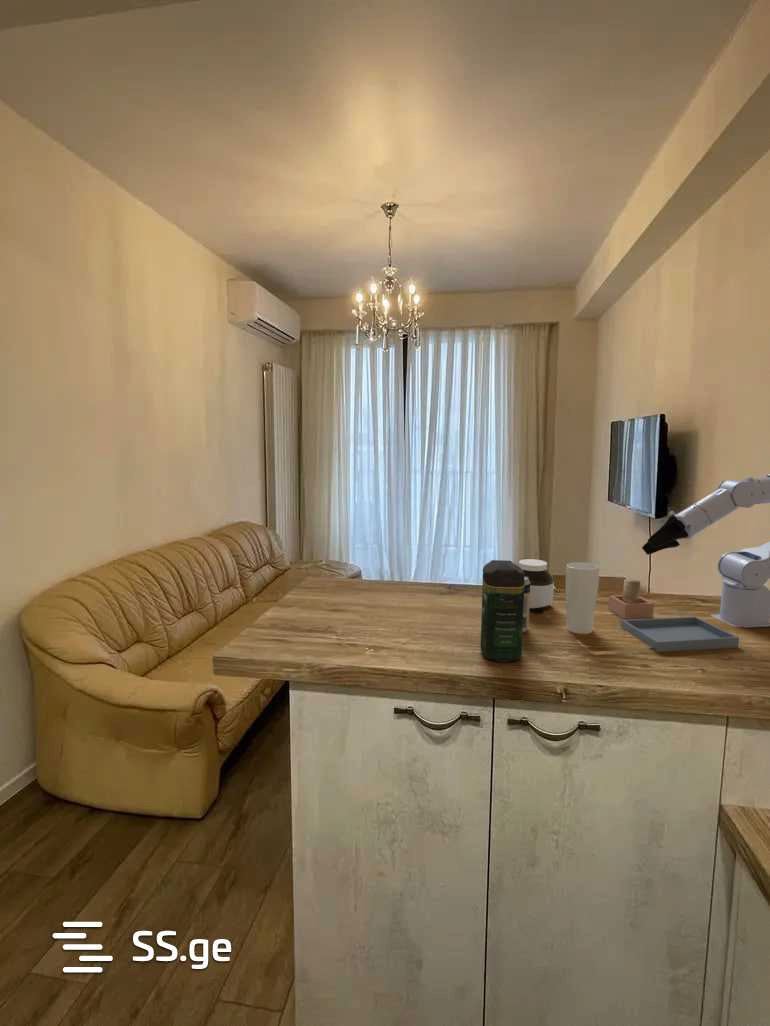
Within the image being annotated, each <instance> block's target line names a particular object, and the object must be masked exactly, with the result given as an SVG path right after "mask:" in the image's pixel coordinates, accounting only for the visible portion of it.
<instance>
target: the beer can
mask: <svg viewBox="0 0 770 1026" xmlns="http://www.w3.org/2000/svg"><path fill="white" fill-rule="evenodd" d="M524 577H525V587H524V609H523V630H522V634H523V633H526V632H527V631H529V629H530V627H529V625H530V612H529V607H530V581H529V579H528V577H526V576H524Z"/></svg>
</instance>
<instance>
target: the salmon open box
mask: <svg viewBox="0 0 770 1026" xmlns="http://www.w3.org/2000/svg"><path fill="white" fill-rule="evenodd" d="M654 604H655V603H654V602H652V601H650V600H648V599H646V598H644V597H642V596H640V595H639V603H628V604H626V603H625V602H623V594H619V595H618V594H616V595H614V594H612V595H608V607H607V610H608V611H610V612H611V613H613V614H615V615H616V616H619V617H620V618H621V619H622V620H631V619H651V618H653V617H654V606H655V605H654Z"/></svg>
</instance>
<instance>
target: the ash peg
mask: <svg viewBox="0 0 770 1026" xmlns="http://www.w3.org/2000/svg"><path fill="white" fill-rule="evenodd" d="M640 589H641V580H639V579H635V578H625V579H624V581H623V593H622V595H623V602H625V603H626V604H628V603H639V596H640V592H641V591H640Z"/></svg>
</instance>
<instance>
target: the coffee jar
mask: <svg viewBox="0 0 770 1026" xmlns="http://www.w3.org/2000/svg"><path fill="white" fill-rule="evenodd" d="M524 587H525V577H524V572H523V570H522V569H521V568H520V567H519V565H517V564H516V563H514V562H512V561H511V560H502V559H501V560H500V559H498V560H497V559H496V560H495V559H492V560H490V561H489V562H487V563H486V564H485V565H484V566H483V569H482V589H481V590H482V596H481V620H480V622H481V623H480V624H481V625H480V650H481V653H482V654H483V656H484V657H485V659H487V660H493V661H496V662H499V663H500V662H501V663H509V662H512V661H518V660H520V659H522V658H521V657H522V654H523V653H522V650H523V633H522V630H523V609H524Z"/></svg>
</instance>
